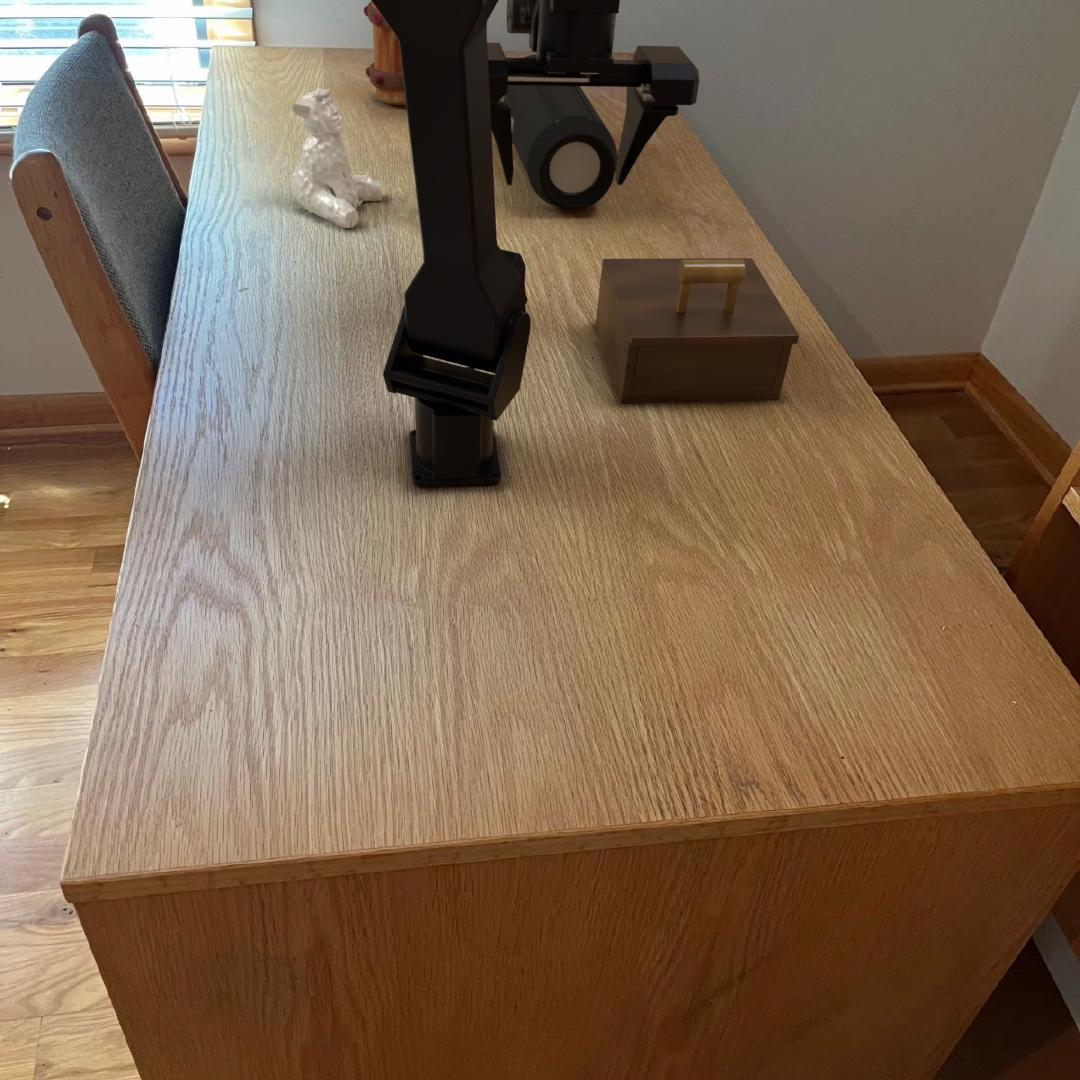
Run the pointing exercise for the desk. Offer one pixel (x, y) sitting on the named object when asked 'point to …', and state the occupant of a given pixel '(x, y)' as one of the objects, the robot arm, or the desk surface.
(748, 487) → the desk surface
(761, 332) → the lid
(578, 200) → the portable speaker
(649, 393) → the keepsake box
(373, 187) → the white creature statuette
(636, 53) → the robot arm
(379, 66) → the mug
